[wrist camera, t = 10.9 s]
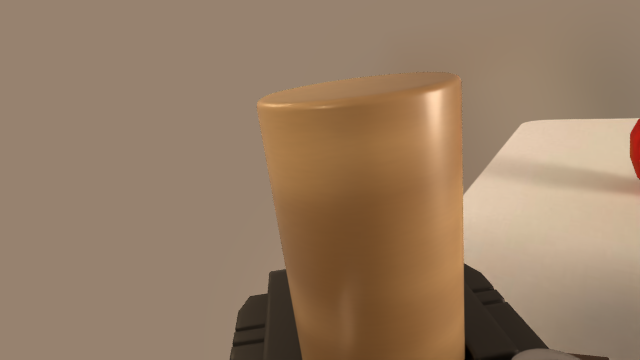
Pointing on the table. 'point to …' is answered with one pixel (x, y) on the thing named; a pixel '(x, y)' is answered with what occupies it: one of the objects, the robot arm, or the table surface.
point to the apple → (635, 148)
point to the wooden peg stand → (371, 214)
